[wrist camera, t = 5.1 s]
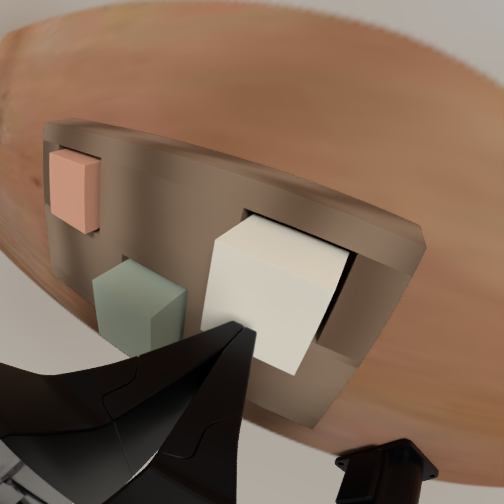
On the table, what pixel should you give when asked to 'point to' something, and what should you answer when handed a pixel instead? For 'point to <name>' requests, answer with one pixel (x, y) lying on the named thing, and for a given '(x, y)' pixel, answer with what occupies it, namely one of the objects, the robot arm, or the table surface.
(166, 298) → the sage button
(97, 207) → the terracotta button
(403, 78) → the table surface
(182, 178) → the walnut board
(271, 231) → the cream button
